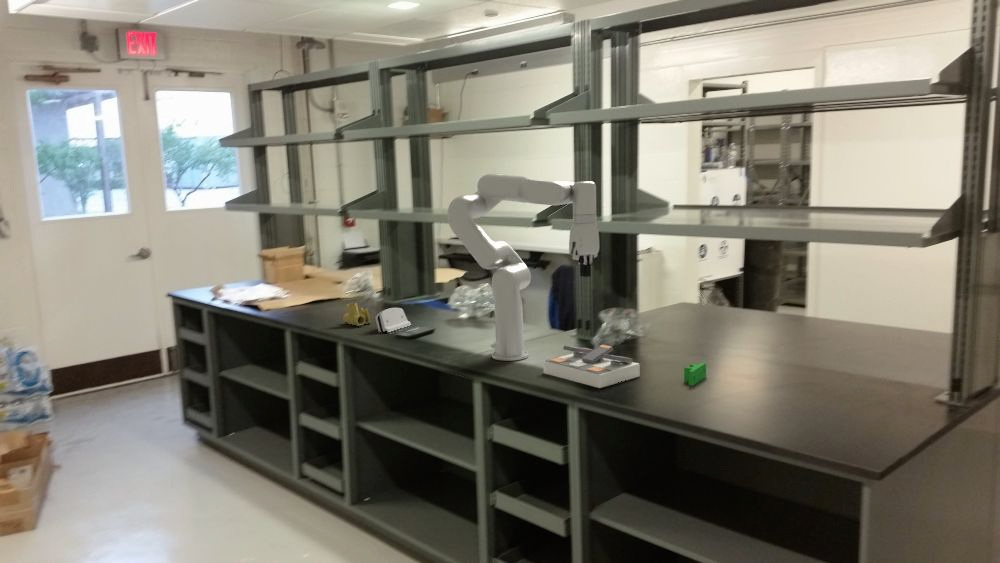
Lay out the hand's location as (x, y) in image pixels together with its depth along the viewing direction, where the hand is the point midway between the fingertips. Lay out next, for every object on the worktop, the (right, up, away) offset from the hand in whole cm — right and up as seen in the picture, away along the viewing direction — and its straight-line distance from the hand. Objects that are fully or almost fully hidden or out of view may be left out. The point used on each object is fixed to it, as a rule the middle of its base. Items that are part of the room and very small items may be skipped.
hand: (585, 276), depth 248 cm
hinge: (-72, -22, +69) cm, 102 cm away
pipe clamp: (+30, -32, -20) cm, 48 cm away
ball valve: (-89, -21, +81) cm, 122 cm away
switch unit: (+1, -31, -10) cm, 33 cm away
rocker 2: (+3, -25, -9) cm, 26 cm away
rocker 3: (+8, -25, -15) cm, 31 cm away
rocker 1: (-2, -24, -3) cm, 24 cm away
